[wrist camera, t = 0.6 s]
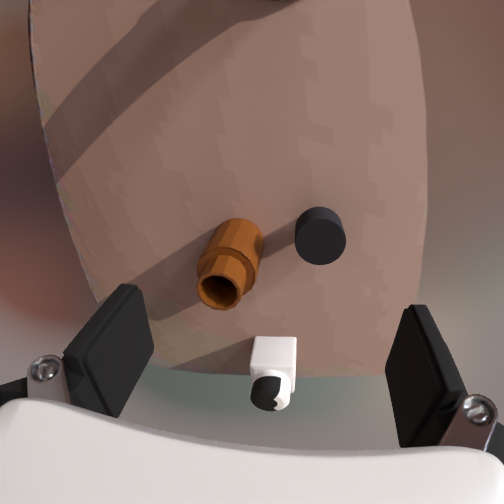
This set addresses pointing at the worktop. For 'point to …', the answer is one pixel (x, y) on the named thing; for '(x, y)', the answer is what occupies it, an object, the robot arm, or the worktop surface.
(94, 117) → the worktop surface
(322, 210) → the stopper
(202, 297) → the amber bottle
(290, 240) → the worktop surface
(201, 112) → the worktop surface
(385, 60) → the worktop surface
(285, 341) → the medicine bottle
